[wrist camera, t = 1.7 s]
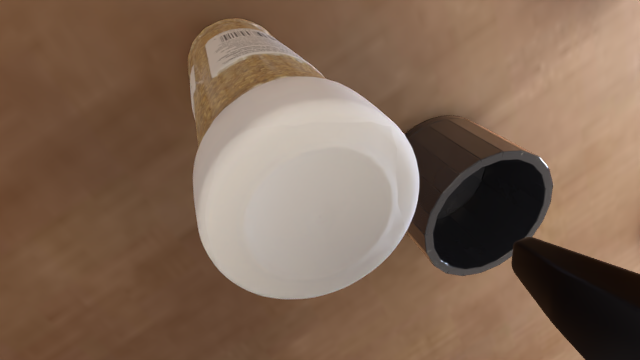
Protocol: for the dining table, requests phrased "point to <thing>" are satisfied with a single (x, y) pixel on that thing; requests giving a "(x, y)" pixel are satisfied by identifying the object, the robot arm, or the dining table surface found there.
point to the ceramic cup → (474, 194)
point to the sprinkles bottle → (291, 168)
